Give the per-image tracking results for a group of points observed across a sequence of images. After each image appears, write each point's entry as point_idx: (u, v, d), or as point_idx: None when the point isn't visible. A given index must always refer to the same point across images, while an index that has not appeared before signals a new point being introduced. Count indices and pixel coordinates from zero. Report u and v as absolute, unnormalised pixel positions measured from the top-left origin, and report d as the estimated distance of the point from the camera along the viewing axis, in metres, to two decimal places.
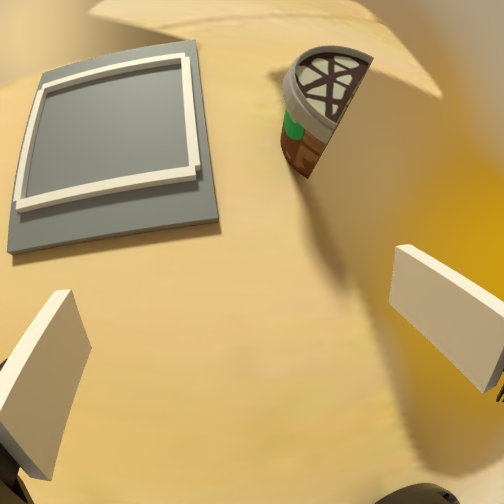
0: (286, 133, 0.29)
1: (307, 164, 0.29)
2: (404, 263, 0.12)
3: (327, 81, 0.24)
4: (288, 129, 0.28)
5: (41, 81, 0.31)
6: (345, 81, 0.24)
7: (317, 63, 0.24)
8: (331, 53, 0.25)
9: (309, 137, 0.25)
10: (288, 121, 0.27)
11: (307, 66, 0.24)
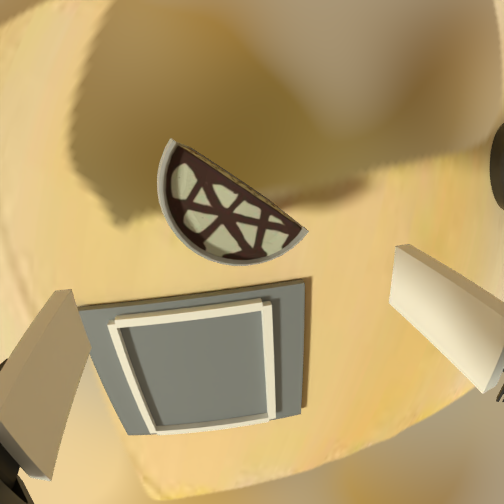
0: None
1: None
2: (404, 263, 0.12)
3: (230, 219, 0.23)
4: None
5: (139, 433, 0.39)
6: (229, 197, 0.22)
7: (194, 224, 0.22)
8: (169, 202, 0.21)
9: None
10: None
11: (204, 239, 0.23)
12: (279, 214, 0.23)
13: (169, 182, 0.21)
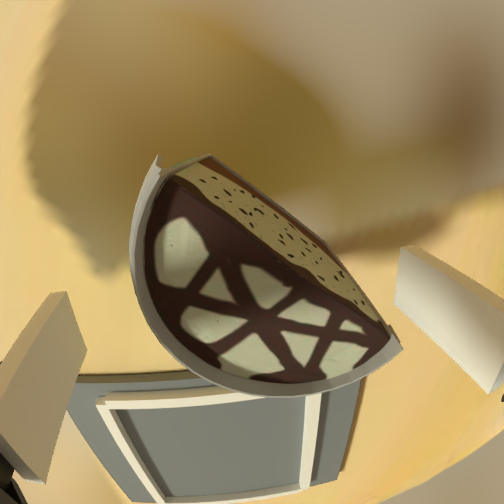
0: None
1: None
2: (409, 264, 0.12)
3: (271, 326, 0.12)
4: None
5: (145, 501, 0.28)
6: (273, 291, 0.11)
7: (202, 330, 0.12)
8: (151, 290, 0.11)
9: None
10: None
11: (220, 353, 0.12)
12: (360, 318, 0.12)
13: (151, 254, 0.10)
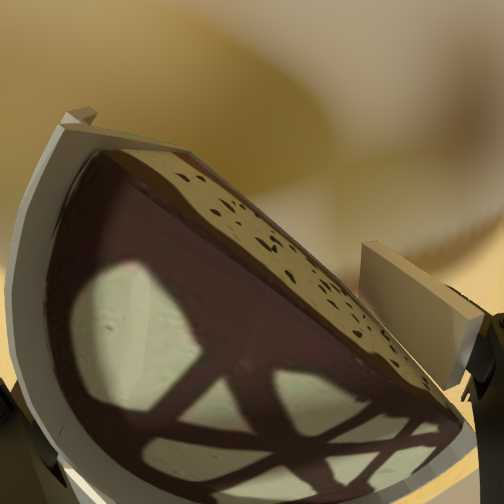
0: None
1: None
2: (370, 259, 0.12)
3: (311, 454, 0.05)
4: None
5: None
6: (334, 412, 0.05)
7: (184, 467, 0.05)
8: (77, 410, 0.04)
9: None
10: None
11: (216, 490, 0.06)
12: (441, 415, 0.06)
13: (64, 343, 0.04)
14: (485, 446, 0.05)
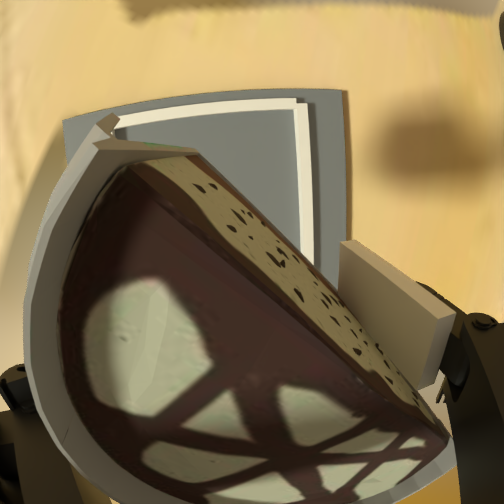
0: None
1: None
2: (347, 258, 0.13)
3: (304, 462, 0.06)
4: None
5: None
6: (331, 425, 0.05)
7: (181, 469, 0.05)
8: (83, 412, 0.04)
9: None
10: None
11: (209, 491, 0.06)
12: (429, 431, 0.06)
13: (76, 350, 0.04)
14: (463, 450, 0.05)
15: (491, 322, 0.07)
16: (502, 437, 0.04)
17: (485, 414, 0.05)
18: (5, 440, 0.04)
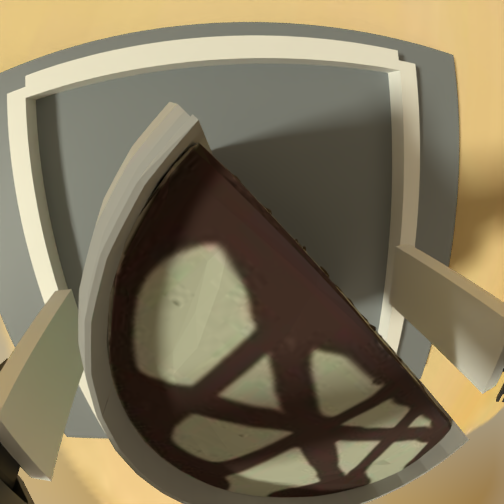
0: None
1: None
2: (404, 263, 0.12)
3: (325, 436, 0.06)
4: None
5: (88, 435, 0.17)
6: (354, 392, 0.05)
7: (209, 446, 0.06)
8: (120, 384, 0.05)
9: None
10: None
11: (232, 472, 0.06)
12: (435, 410, 0.07)
13: (126, 316, 0.04)
14: None
15: None
16: None
17: None
18: None
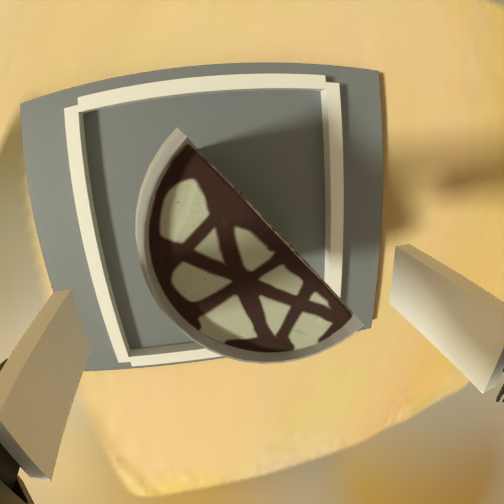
0: None
1: None
2: (404, 263, 0.12)
3: (251, 289, 0.13)
4: None
5: (102, 367, 0.24)
6: (259, 254, 0.13)
7: (189, 287, 0.13)
8: (151, 242, 0.12)
9: None
10: None
11: (201, 313, 0.13)
12: (327, 292, 0.14)
13: (158, 207, 0.11)
14: None
15: None
16: None
17: None
18: None
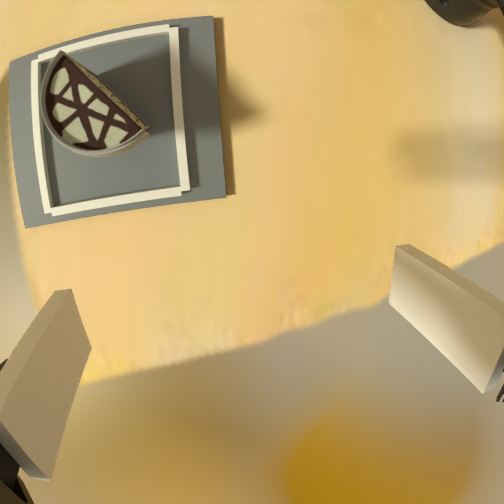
0: None
1: None
2: (404, 263, 0.12)
3: (84, 113, 0.22)
4: None
5: (36, 223, 0.33)
6: (87, 94, 0.21)
7: (59, 115, 0.22)
8: (46, 95, 0.21)
9: None
10: None
11: (63, 127, 0.22)
12: (123, 114, 0.23)
13: (50, 81, 0.20)
14: None
15: None
16: None
17: None
18: None
